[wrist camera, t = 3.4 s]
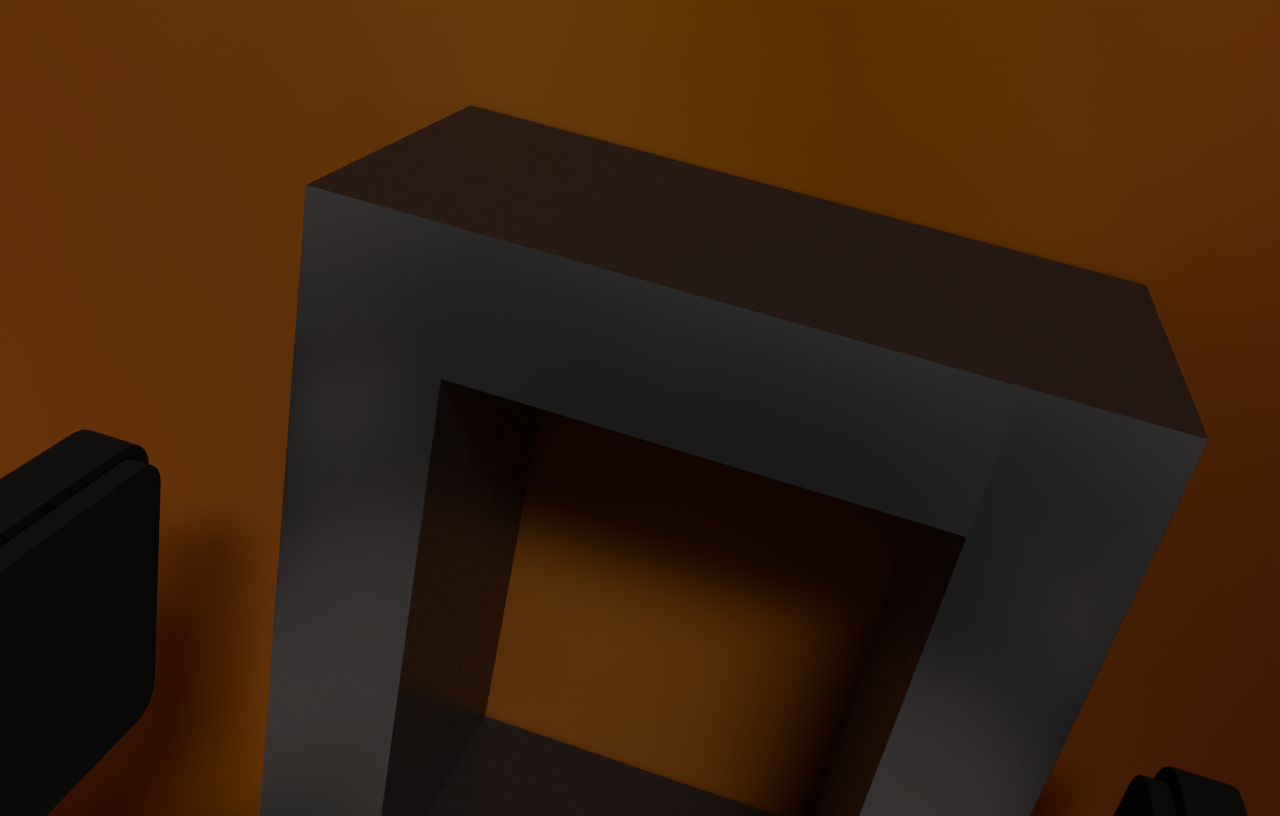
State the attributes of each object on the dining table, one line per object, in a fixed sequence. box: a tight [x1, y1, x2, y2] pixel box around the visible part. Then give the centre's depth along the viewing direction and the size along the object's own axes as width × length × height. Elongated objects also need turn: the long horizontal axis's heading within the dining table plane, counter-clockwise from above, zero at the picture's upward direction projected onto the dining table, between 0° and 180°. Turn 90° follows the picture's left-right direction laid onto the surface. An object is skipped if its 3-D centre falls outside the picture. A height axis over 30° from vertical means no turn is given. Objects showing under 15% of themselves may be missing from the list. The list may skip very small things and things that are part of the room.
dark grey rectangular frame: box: [260, 105, 1208, 816], centre depth 12 cm, size 6×8×3 cm
